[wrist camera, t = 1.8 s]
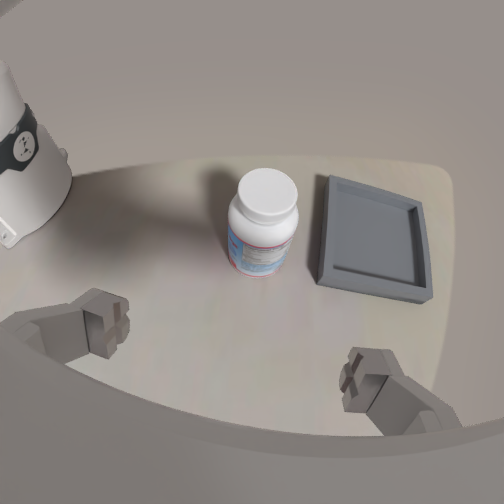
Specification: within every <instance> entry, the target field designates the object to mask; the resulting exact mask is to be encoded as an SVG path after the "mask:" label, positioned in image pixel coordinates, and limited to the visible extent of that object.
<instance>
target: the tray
mask: <svg viewBox="0 0 504 504" xmlns="http://www.w3.org/2000/svg"><path fill="white" fill-rule="evenodd" d="M316 285H321V286H326V287H331V288H336V289H341V290H347V291H352V292H357V293H362V294H367V295H373V296H378V297H383V298H389V299H394V300H400V301H405V302H411V303H416V304H423V303H425V302H426V301H428V300H430V299H432V298H433V289H432V274H431V263H430V254H429V246H428V238H427V231H426V225H425V219H424V213H423V207H422V202H419V201H416V200H413V199H410V198H407V197H404V196H401V195H398V194H395V193H392V192H389V191H385V190H382V189H379V188H376V187H372V186H369V185H365V184H362V183H358V182H355V181H351V180H347V179H344V178H340V177H336V176H332V175H329V178H328V180H327V183H326V185H325V190H324V206H323V221H322V233H321V245H320V255H319V265H318V275H317V284H316Z"/></svg>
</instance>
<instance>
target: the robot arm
mask: <svg viewBox="0 0 504 504" xmlns="http://www.w3.org/2000/svg"><path fill="white" fill-rule="evenodd" d="M21 1H23V0H0V18H1V17H2V16H3V15H5V14H6V13H7V12H9V11H10V10H11V9H12V8H14V7H15V6H16V5H17V4H19V3H20V2H21ZM67 156H68V155H67V152H66V150H65V149H59V148H58V147H57V145H56V144H55V142H54V141H53V139H52V137H51V136H50V135H49V133H48V132H47V130H46V128H45V127H44V126H43V125H38V124H37V121H36V119H35V117H34V113H33V112H32V110H31V109H30V107H29V106H28V104H26V103H24V102H23V100H22V98H21V95H20V93H19V91H18V88H17V86H16V83H15V81H14V79H13V76H12V73H11V71H10V68H9V66H8V65H7V64H6V63H5V62H4V61H2V60H0V243H1V244H3V245H4V246H5V247H6V248H7V249H9V248H11V247H13V246H14V245H15V244H16V243H17V242H18V241H19V240H20V239H21V238H22V237H24V236H25V235H27V234H29V233H31V232H33V231H35V230H37V229H38V228H40V227H41V226H42V225H44V224H45V223H46V222H47V221H48V220H49V219H50V218H51V217H52V216H53V215H54V214H55V213H56V211H57V210H58V209H59V207H60V206H61V204H62V203H63V201H64V200H65V198H66V196H67V194H68V192H69V189H70V186H71V181H72V173H71V169H70V167H69V166H68V164H67ZM128 311H129V302H128V300H127V299H126V298H123V297H120V296H117V295H114V294H111V293H108V292H105V291H102V290H99V289H96V288H92V289H90V290H89V291H87V292H86V293H84V294H83V295H82V296H80V297H79V298H77V299H76V300H75V301H73V302H72V303H70V304H67V303H65V304H59V305H54V306H48V307H43V308H37V309H31V310H26V311H20V312H15V313H14V314H12V315H11V316H9V317H8V318H6V319H5V320H3V321H2V322H1V323H0V504H504V418H500V419H496V420H492V421H488V422H485V423H480V424H475V425H471V426H466V427H462V425H461V423H460V421H459V419H458V417H457V416H456V413H455V411H454V410H453V408H452V407H451V406H449V405H448V404H446V403H445V402H444V401H442V400H440V399H439V398H438V397H437V396H435V395H434V394H432V393H431V392H430V391H428V390H427V389H425V388H424V387H423V386H421V385H420V384H418V383H417V382H416V381H414V380H413V379H411V378H410V377H409V376H405V375H404V373H403V371H402V369H401V367H400V365H399V363H398V361H397V359H396V357H395V355H394V353H393V352H392V351H391V350H387V349H371V348H360V347H353V348H352V349H351V350H350V352H349V355H348V358H349V362H348V363H347V364H345V365H344V366H343V368H342V371H341V374H340V379H339V387H340V390H341V391H342V392H343V393H344V395H343V397H342V402H343V407H344V412H352V413H366V415H367V416H368V417H369V418H370V420H371V421H372V422H373V423H374V424H375V425H376V427H377V428H378V429H379V430H380V431H381V432H382V434H383V435H384V436H326V435H312V434H300V433H291V432H282V431H275V430H268V429H261V428H255V427H250V426H244V425H239V424H234V423H229V422H224V421H219V420H215V419H211V418H207V417H203V416H199V415H195V414H191V413H187V412H184V411H180V410H177V409H173V408H170V407H167V406H164V405H161V404H158V403H154V402H151V401H149V400H146V399H143V398H140V397H137V396H135V395H132V394H129V393H127V392H124V391H122V390H119V389H117V388H114V387H112V386H109V385H107V384H105V383H102V382H100V381H98V380H95V379H93V378H91V377H89V376H87V375H85V374H82V373H80V372H78V371H76V370H74V369H72V368H70V367H68V366H66V365H64V364H65V363H68V362H70V361H73V360H75V359H77V358H80V357H82V356H84V355H87V354H89V352H90V353H92V354H95V355H98V356H100V357H103V358H105V359H108V360H109V358H110V357H111V356H112V355H113V354H114V353H115V351H116V350H117V345H118V344H121V343H123V342H124V341H125V339H126V338H127V335H128V333H129V328H130V320H129V318H128V316H127V315H126V313H127V312H128Z"/></svg>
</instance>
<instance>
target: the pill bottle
mask: <svg viewBox="0 0 504 504" xmlns="http://www.w3.org/2000/svg"><path fill="white" fill-rule="evenodd" d="M297 195H298V194H297V188H296V185H295V184H294V182H293V181H292V179H291V178H290V177H288V176H287V175H286V174H284V173H283V172H281V171H278V170H275V169H271V168H259V169H255V170H252V171H250V172H248V173H246V174H245V175H244V176H243V177H242V178H241V180H240V182H239V185H238V191H237V194H236V195H235V196H234V198H233V199H232V201H231V203H230V206H229V210H228V254H229V259H230V262H231V264H232V266H233V267H234V269H235V270H236V271H237V272H239V273H240V274H242V275H244V276H246V277H250V278H265V277H268V276H271V275H273V274H274V273H276V272H277V271H278V270H279V269H280V267H281V266H282V264H283V262H284V259H285V257H286V254H287V251H288V249H289V246H290V244H291V241H292V238H293V236H294V233H295V231H296V228H297V225H298V219H299V215H298V209H297V206H296V201H297Z"/></svg>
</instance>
